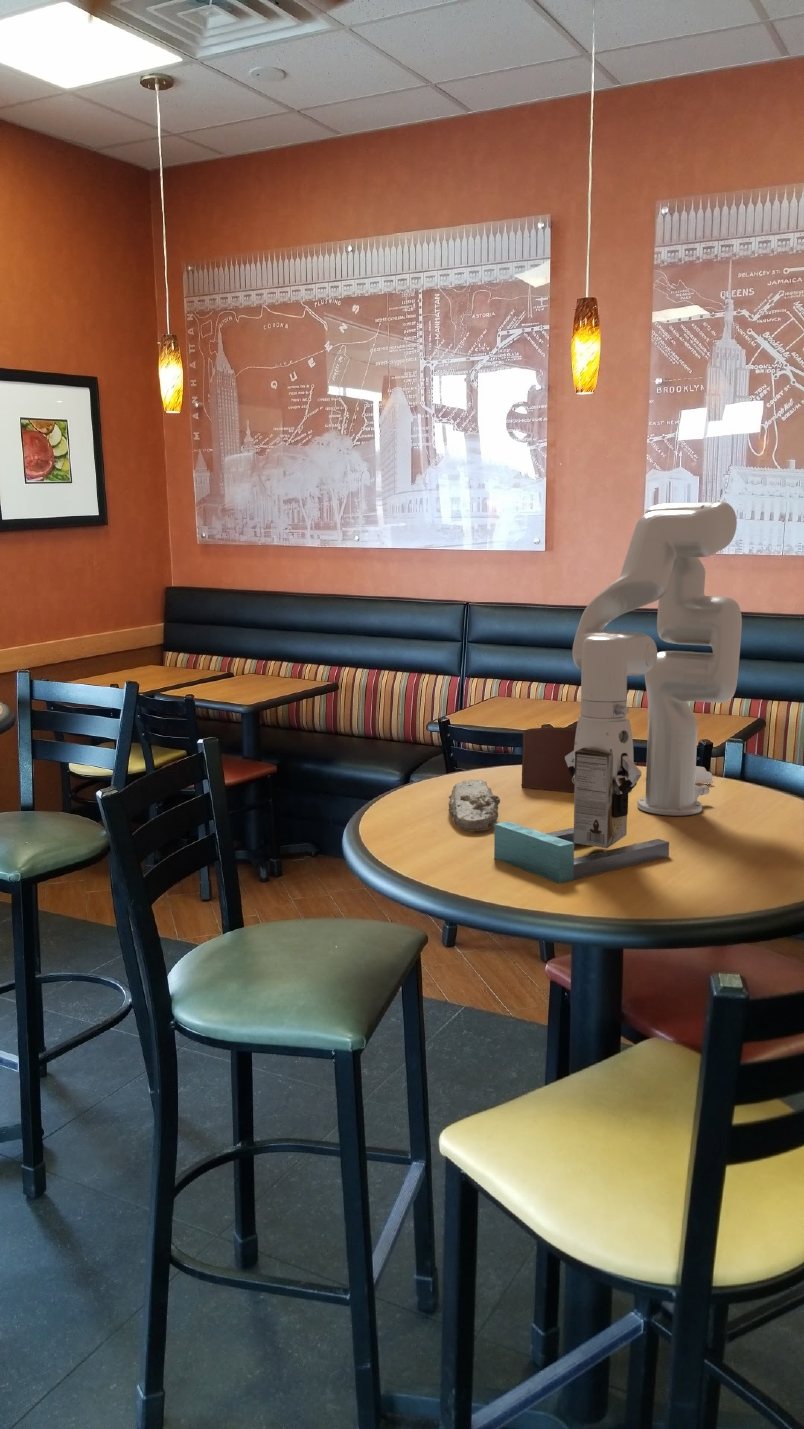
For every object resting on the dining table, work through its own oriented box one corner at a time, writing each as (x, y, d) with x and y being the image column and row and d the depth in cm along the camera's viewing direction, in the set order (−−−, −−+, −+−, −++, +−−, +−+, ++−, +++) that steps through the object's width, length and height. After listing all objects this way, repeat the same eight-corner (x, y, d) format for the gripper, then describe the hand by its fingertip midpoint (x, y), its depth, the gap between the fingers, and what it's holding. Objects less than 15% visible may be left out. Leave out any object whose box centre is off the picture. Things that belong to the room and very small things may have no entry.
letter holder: (611, 797, 218) (613, 731, 216) (520, 789, 225) (521, 725, 223) (621, 787, 227) (623, 723, 225) (533, 779, 235) (534, 718, 232)
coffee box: (592, 830, 183) (594, 741, 180) (627, 835, 179) (630, 745, 177) (572, 843, 175) (574, 750, 172) (608, 849, 172) (610, 754, 169)
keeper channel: (600, 835, 189) (601, 803, 188) (668, 856, 176) (670, 822, 175) (494, 858, 175) (494, 823, 174) (559, 883, 162) (559, 846, 161)
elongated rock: (494, 797, 224) (448, 799, 225) (493, 773, 224) (447, 775, 224) (504, 832, 189) (450, 835, 190) (503, 804, 189) (448, 807, 189)
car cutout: (715, 784, 231) (716, 764, 230) (711, 790, 225) (711, 770, 224) (648, 778, 237) (648, 759, 236) (642, 784, 231) (642, 764, 231)
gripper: (658, 714, 168) (654, 818, 171) (582, 701, 183) (580, 797, 185) (626, 718, 164) (622, 825, 167) (551, 705, 178) (549, 803, 181)
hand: (600, 810), depth 176 cm, fingers closed on coffee box, 8 cm apart
